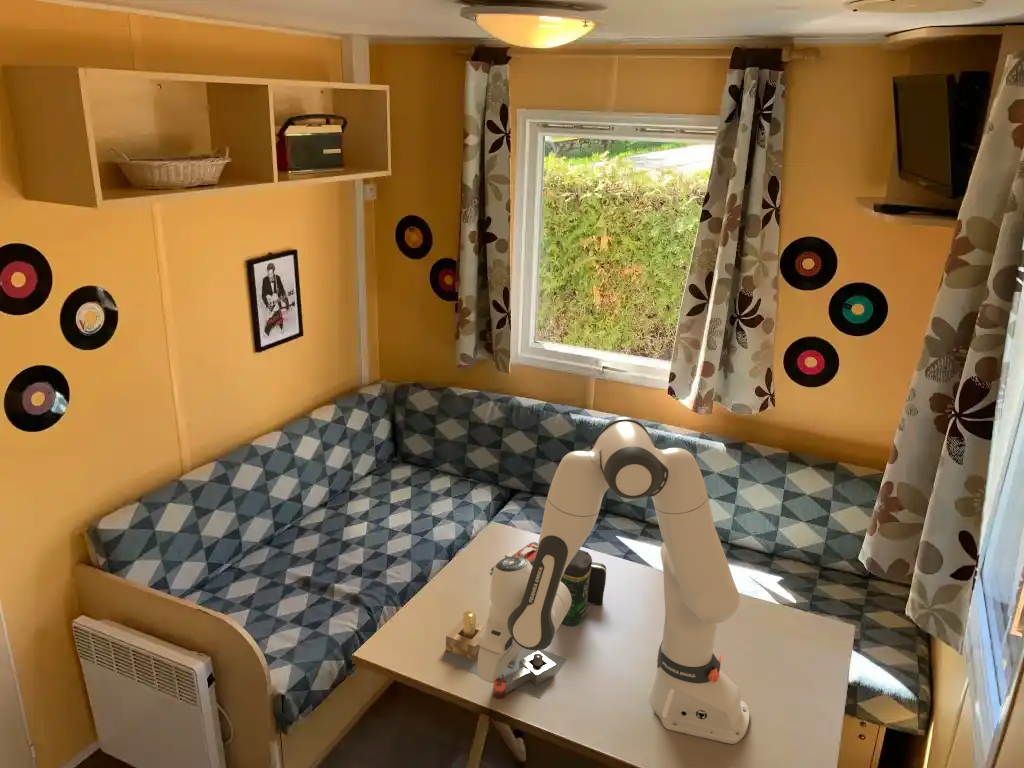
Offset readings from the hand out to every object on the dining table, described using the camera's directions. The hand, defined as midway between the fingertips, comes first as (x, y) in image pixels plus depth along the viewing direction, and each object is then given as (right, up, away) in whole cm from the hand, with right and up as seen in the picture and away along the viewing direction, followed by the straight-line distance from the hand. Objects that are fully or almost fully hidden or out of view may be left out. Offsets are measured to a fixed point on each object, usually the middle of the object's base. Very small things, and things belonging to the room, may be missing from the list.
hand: (504, 674), depth 182 cm
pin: (-9, +3, +11) cm, 15 cm away
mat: (0, 0, +7) cm, 7 cm away
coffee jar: (+17, +5, +26) cm, 32 cm away
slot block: (-9, +3, +11) cm, 15 cm away
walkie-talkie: (+4, +14, +50) cm, 52 cm away
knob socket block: (+4, -2, 0) cm, 4 cm away
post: (+7, -1, +3) cm, 8 cm away
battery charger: (+23, +8, +34) cm, 42 cm away
